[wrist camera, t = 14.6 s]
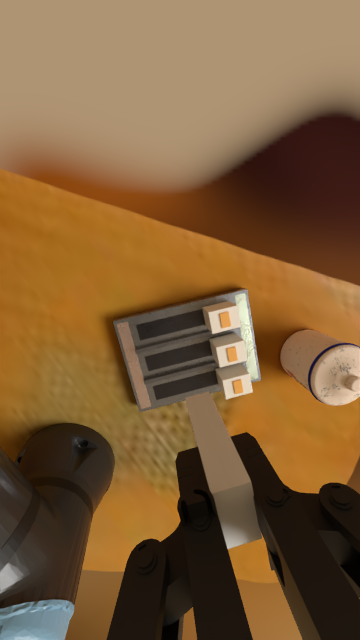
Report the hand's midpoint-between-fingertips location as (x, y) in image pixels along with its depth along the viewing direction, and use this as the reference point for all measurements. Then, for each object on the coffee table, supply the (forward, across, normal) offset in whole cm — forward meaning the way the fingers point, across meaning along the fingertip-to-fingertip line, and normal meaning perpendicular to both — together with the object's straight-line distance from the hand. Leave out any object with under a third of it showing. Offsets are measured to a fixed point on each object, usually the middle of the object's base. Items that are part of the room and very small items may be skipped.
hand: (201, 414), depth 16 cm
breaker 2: (+22, +7, -5) cm, 24 cm away
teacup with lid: (+25, +22, -12) cm, 35 cm away
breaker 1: (+22, +7, 0) cm, 23 cm away
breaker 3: (+22, +7, -10) cm, 25 cm away
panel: (+24, +2, -5) cm, 25 cm away
